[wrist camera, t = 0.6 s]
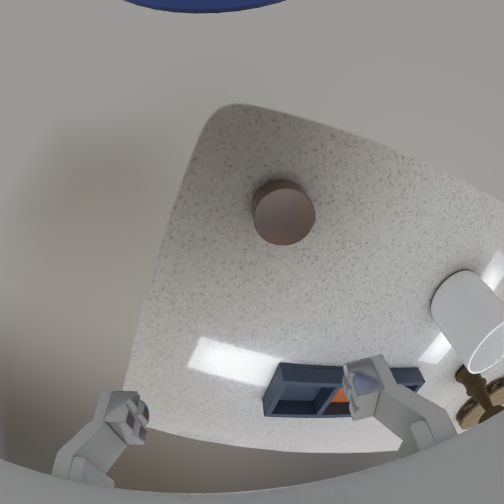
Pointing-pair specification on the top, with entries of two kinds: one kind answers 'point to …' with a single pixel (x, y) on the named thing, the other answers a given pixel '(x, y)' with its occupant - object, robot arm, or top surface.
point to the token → (282, 212)
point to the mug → (470, 320)
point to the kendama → (478, 392)
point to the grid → (318, 390)
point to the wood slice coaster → (472, 411)
